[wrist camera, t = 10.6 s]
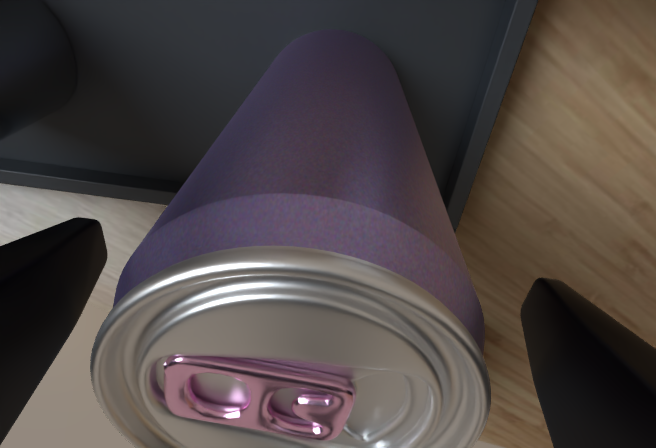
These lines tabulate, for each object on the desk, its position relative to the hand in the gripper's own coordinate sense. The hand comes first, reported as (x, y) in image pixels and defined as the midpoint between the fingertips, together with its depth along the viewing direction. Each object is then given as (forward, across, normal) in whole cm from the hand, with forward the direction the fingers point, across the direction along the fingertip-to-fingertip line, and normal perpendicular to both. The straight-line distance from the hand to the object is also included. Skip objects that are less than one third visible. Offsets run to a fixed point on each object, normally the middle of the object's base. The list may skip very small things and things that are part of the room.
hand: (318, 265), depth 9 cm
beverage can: (+12, 0, 0) cm, 12 cm away
